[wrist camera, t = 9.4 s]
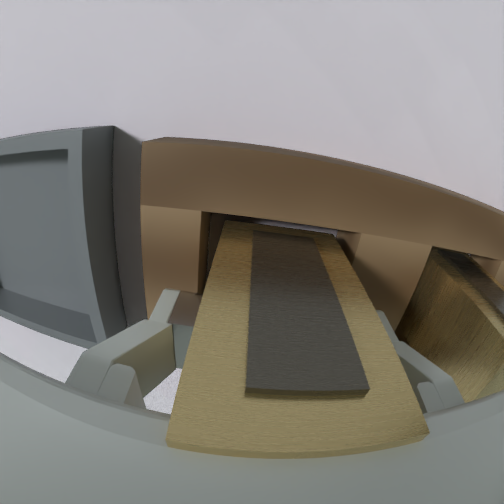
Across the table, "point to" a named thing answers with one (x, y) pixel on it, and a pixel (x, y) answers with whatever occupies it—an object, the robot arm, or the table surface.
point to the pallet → (304, 215)
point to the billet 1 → (289, 356)
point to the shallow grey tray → (60, 235)
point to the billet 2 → (459, 322)
